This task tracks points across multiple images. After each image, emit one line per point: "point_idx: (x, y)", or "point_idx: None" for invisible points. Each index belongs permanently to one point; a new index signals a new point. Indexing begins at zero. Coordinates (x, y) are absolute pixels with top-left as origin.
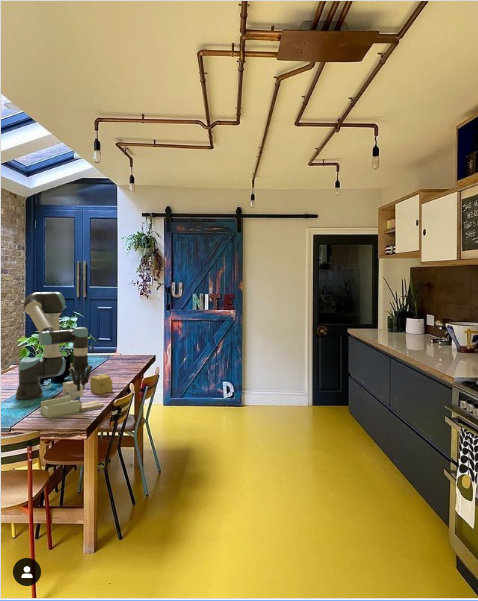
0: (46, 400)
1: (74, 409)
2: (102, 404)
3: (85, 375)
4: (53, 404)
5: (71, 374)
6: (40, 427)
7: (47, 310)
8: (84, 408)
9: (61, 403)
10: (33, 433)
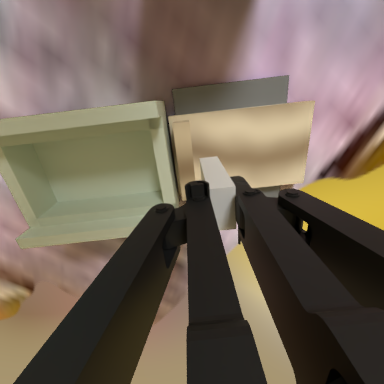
0: None
1: None
2: (294, 182)
3: (350, 241)
4: (53, 140)
5: (63, 341)
6: (33, 271)
7: None
8: None
9: (82, 234)
10: (17, 302)
